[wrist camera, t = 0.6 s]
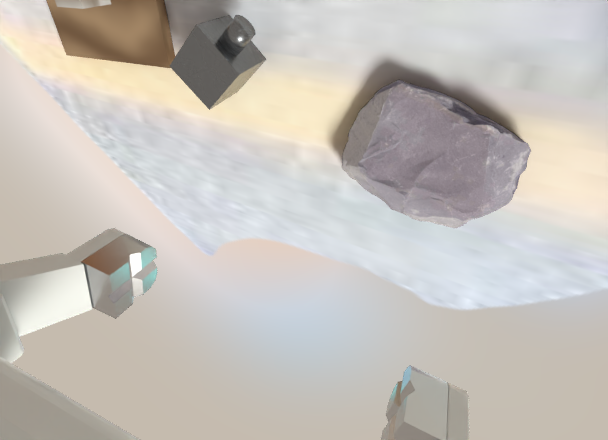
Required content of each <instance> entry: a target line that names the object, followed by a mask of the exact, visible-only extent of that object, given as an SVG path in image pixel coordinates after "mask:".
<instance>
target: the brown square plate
mask: <svg viewBox="0 0 608 440" xmlns="http://www.w3.org/2000/svg"><path fill="white" fill-rule="evenodd" d="M47 3H48V6H49V9H50V11H51V14H52V17H53V19H54V22H55V25H56V28H57V30H58V33H59V36H60V38H61V41H62V44H63V47H64V49H65V52H66V55H70V56H78V57H86V58H94V59H102V60H110V61H118V62H126V63H134V64H142V65H150V66H158V67H166V68H171V67H170V64H171V63H172V61H173V60H174V58H175V54H174V49H173V44H172V38H171V33H170V28H169V23H168V18H167V13H166V8H165V3H164V0H47Z"/></svg>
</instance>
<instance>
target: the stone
mask: <svg viewBox="0 0 608 440" xmlns="http://www.w3.org/2000/svg"><path fill="white" fill-rule="evenodd" d="M348 137H349V140H348V142H347V143H346V146H345V149H344V152H343V155H342V169H343V170H344V171H345V172H346V173H347V174H348V175H349V176H350V177H351V178H352V179H354V180H356V181H357V182H358V183H359V184H360V185H361V186H362V187H363V188H364V189H366V190H367V191H369V192H370V193H372V194H373V195H375V196H377V197H379V198H380V199H382V200H383V201H384V202H385V203H386V204H387V205H388V206H389V207H390V208H391V209H392V210H395V211H398V212H400V213H403V214H405V215H408V216H410V217H411V218H413V219H415V220H419V221H428V222H433V223H436V224H440V225H444V226H448V227H452V228H458V227H461V226H463V225H464V224H466V223H467V222H468V221H469V220H472V219H475V218H479V217H482V216H485V215H487V214H489V213H491V212H494V211H496V210H498V209H500V208H501V207H503V206H505V205H506V204H508V203H509V202H510V201H511V200H512V197H513V194H514V192H515V190H516V189H517V185H518V180H519V177H520V174H521V173H522V172H523V171H524V170H525V169H526V166H527V160H528V157H529V154H530V152H531V150H530V148H529V145H528V143H526V142H524V141H523V140H521V139H520V138H519V137H517V136H516V135H515V134H514V133H512V132H511V131H509V130H508V129H506V128H505V127H503V126H501V125H500V124H498V123H497V122H495V121H493V120H491V119H490V118H487V117H485V116H483V115H480V114H477V113H476V112H475V111H474V110H473V109H472V108H470V107H469V106H468V105H466V104H465V103H463V102H461V101H459V100H457V99H455V98H452V97H450V96H448V95H445V94H443V93H440V92H437V91H434V90H432V89H428V88H423V87H419V86H416V85H413V84H408V83H405V82H404V81H401V80H397V81H396V82H394V83H391V84H389V85H387V86H384V87H383V88H381V89H380V90H379V91H377V92H376V93H375V95H374V97H373V98H372V99H371V100H369V102H368V103H367V104H366V105H365V106H364V107H363V108H362V109H361V110H360V111H359V113H358V116H357V118H356V120H355V122H354V123H353V125H352V127H351V129H350V131H349V135H348Z"/></svg>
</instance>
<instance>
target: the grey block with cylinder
mask: <svg viewBox="0 0 608 440" xmlns="http://www.w3.org/2000/svg"><path fill="white" fill-rule="evenodd" d="M254 35H255V30H254V28H253V26H252V24H251V23H250V22H249V21H248V20H247V19H246V18H244V17H243V16H240V15H236V16H235V17H234V19H232V18H231V16H230V15H228V16H225V17H221V18H218V19H215V20H211V21H208V22H204V23H201V24H198V25H196V26H195V28H194V29H193V31H192V32H191V34H190V35H189V37H188V38H187V40H186V41H185V43H184V45H183V46H182V48H181V49H180V51H179V52H178V54H177V55H176V57H175V58H174V60H173V61H172V63H171V64H170V67H171V68H172V69H173V70H174V72H175V73H176V74H177V75H178V76H179V77H180V78H181V79H182V80H183V81H184V82H185V84H186V85H187V86H188V87H189V88H190V89H191V90H192V91H193V92H194V93H195V94H196V96H197V97H198V98H199V99H200V100H201V101H202V102H203V103H204V104H205V105H206V106H207V108H208V109H209V110H210V109H211V108H213V107H214V106H216V105H218V104H219V103H221V102H222V101H224V100H225V99H227V98H228V97H230V96H232V95H233V94H235V93H236V92H238V91H239V89H240V88H241V87H242V86H243V85H244V84H245V83H246V82H247V80H248V79H249V78H250V77H251V76H252V75H253V74H254V73H255V71H256V70H257V69H258V68H259V67H260V66H261V65H262V64H263V62H264V61H265V60H266V59H265V57H264V56H263V55H262V54H261V52H260V51H259V50H258V49H257V48H256V46H255V45H254V44H253V43H252V42H251V39H252V38H253V36H254Z"/></svg>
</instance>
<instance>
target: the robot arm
mask: <svg viewBox="0 0 608 440" xmlns="http://www.w3.org/2000/svg"><path fill="white" fill-rule="evenodd" d="M156 257H157V255H156V249H155V248H153V247H152V246H150V245H148V244H146V243H144V242H142V241H140V240H138V239H135V238H134V237H132V236H130V235H128V234H125V233H123V232H121V231H119V230H117V229H115V228H113V229H108V230H106V231H104V232H103V233H101V234H99V235H98V236H96V237H94V238H93V239H91V240H89V241H88V242H86V243H85V244H83V245H81V246H80V247H78V248H76V249H75V250H73V251H72V252H70V253H68V254H67V255H65V254H63V253H60V254H55V255H49V256H44V257H39V258H33V259H28V260H23V261H17V262H12V263H6V264H2V265H0V440H140V439H138V438H137V437H135V436H133V435H132V434H130V433H128V432H127V431H125V430H123V429H121V428H120V427H118V426H116V425H115V424H113V423H111V422H110V421H108V420H106V419H105V418H103V417H101V416H100V415H98V414H96V413H94V412H93V411H91V410H89V409H88V408H86V407H84V406H82V405H81V404H79V403H78V402H76V401H74V400H72V399H71V398H69V397H67V396H66V395H64V394H62V393H61V392H59V391H57V390H56V389H54V388H52V387H51V386H49V385H47V384H45V383H44V382H42V381H40V380H39V379H37V378H35V377H34V376H32V375H30V374H29V373H27V372H25V371H23V370H22V369H20V368H18V367H17V366H15V365H13V364H12V362H14V361H15V360H16V359H18V358H19V357H20V356H21V355H23V352H24V347H23V345H22V342H21V340H20V336H22V335H25V334H28V333H30V332H33V331H36V330H38V329H41V328H44V327H46V326H49V325H52V324H54V323H57V322H59V321H62V320H65V319H67V318H70V317H73V316H75V315H78V314H81V313H83V312H86V311H88V310H91V309H92V308H95V309H97V310H99V311H101V312H103V313H105V314H107V315H109V316H111V317H113V318H115V319H116V318H117V317H118V316H119V315H120V314H122V313H123V312H124V311H125V310H126V309H127V308H129V307H130V306H131V305H132V304H133V298H134V297H136V296H140V295H143V294H144V293H145V292H146V291H147V290H149V289H150V288H151V286H152V284H153V283H154V281H155V279H156V275H157V267H156V265H155V263H154V262H153V260H154V259H155V258H156ZM386 416H387V419H388V424H387V425H386V427H385V428H384V430H383V433H382V438H381V440H469V396H468V393H467V391H465V390H463V389H460V388H458V387H456V386H454V385H451V384H450V383H447V382H446V381H444V380H441V379H439V378H437V377H435V376H432V375H430V374H428V373H426V372H424V371H421V370H419V369H417V368H415V367H412V366H409V367H407V369H406V370H405V372H404V376H403V381H400V382H398V383H397V384H396V386H395V388H394V390H393V392H392V395H391V397H390V400H389V404H388V407H387V412H386Z"/></svg>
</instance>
